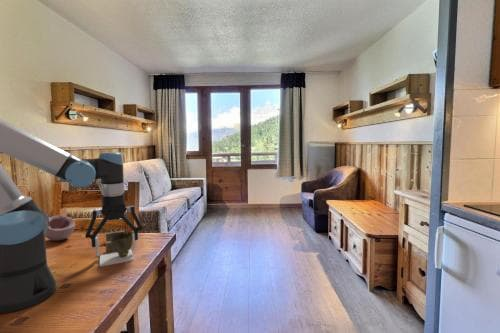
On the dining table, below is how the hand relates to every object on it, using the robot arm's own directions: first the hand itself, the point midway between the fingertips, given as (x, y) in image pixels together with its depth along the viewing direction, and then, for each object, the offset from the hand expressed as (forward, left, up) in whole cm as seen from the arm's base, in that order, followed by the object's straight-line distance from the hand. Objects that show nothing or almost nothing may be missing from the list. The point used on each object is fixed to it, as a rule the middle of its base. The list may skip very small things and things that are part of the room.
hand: (116, 251), depth 101 cm
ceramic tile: (0, 0, -2) cm, 2 cm away
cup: (0, -3, -2) cm, 3 cm away
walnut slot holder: (+14, 0, -2) cm, 14 cm away
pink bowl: (+34, +22, -3) cm, 41 cm away
